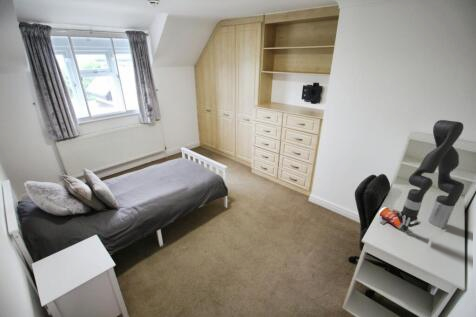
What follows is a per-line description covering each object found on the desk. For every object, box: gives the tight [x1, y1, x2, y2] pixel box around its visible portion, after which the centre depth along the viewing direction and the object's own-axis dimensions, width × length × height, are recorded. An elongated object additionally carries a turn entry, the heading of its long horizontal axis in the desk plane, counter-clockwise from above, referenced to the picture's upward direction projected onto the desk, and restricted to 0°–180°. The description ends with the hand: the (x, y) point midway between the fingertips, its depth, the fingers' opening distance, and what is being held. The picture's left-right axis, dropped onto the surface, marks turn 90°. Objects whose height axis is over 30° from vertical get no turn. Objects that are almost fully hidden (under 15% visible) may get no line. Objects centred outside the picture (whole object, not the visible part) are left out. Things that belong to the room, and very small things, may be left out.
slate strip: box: [379, 219, 389, 225], centre depth 149 cm, size 8×2×1 cm, turn 118°
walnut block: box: [391, 208, 401, 215], centre depth 151 cm, size 5×5×5 cm
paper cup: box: [378, 206, 403, 230], centre depth 147 cm, size 8×8×14 cm
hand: (404, 229), depth 138 cm, fingers closed
